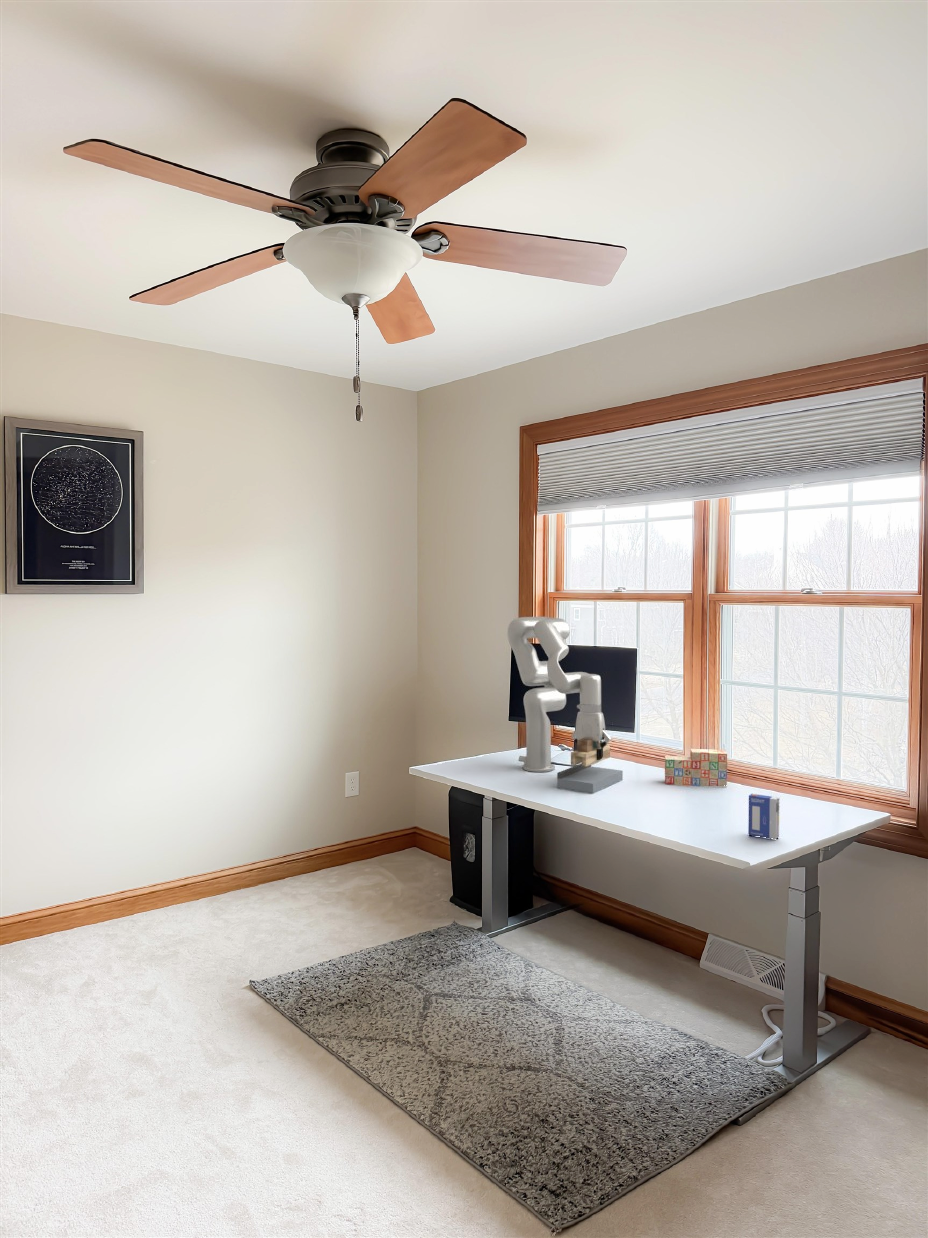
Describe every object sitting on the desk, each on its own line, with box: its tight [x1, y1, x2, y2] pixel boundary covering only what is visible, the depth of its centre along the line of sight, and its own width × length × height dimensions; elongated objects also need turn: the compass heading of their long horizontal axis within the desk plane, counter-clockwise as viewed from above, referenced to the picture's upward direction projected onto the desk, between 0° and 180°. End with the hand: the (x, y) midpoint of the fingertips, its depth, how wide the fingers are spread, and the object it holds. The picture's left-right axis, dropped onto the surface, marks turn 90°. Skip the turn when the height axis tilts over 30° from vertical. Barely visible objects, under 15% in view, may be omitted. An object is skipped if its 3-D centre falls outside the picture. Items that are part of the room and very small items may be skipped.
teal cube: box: [593, 739, 605, 748], centre depth 303 cm, size 4×4×4 cm
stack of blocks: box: [664, 748, 728, 787], centre depth 299 cm, size 21×6×12 cm, turn 77°
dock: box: [556, 763, 624, 795], centre depth 300 cm, size 14×24×6 cm, turn 145°
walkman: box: [747, 793, 780, 839], centre depth 236 cm, size 8×3×12 cm, turn 55°
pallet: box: [570, 744, 611, 767], centre depth 299 cm, size 6×19×4 cm, turn 145°
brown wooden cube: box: [576, 738, 593, 752], centre depth 295 cm, size 4×4×4 cm
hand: (591, 758), depth 299 cm, fingers closed on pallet, 6 cm apart
